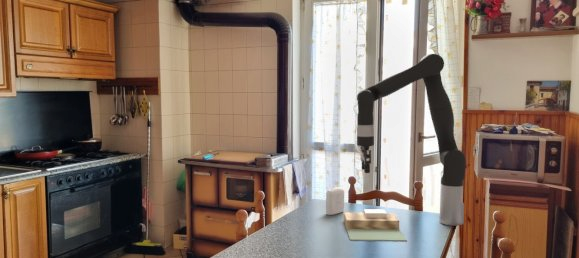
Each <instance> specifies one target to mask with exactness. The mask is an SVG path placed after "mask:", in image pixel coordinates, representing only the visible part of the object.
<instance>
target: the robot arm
mask: <svg viewBox="0 0 579 258" xmlns="http://www.w3.org/2000/svg"><path fill="white" fill-rule="evenodd" d="M444 66H445V60H444V58H443V57H442V56H441V55H440V54H437V53H428V54H426V55H424V56H423V57H421V59H420V60H419V62H417V63H416V64H414V65H412V66H410V67H409V68H407V69H405V70H402V71H400V72H398V73H396V74H394V75H391V76H388V77H386V78H385V79H383V80H381V81H379V82H377V83H376V84H374V85H371V86H368V87H367V88H365V89H362V90H360V91H359V92H358V93H357V96H356V100H357V117H356V118H357V120H356V121H357V125H356V145H357V146H358V147H359V148H360V161H361V169H362V170H361V171H363V170H364V174H370V172H371V164H372V150H371V149H370V147H374V146H375V125H374V105H375V102H376V101H378V100H380V99H382V98H385V97H388V96H390V95H392V94H394V93H396V92H398V91H399V90H402V89H403V88H405V87H407V86H408V85H411V84H413V83H415V82H417V81H419V80H423V83H424V86H425V90H426V98H427V103H428V109H429V113H430V116H431V117H430V118H431V120H432V121H431V122H432V125H433V128H434V132H435V136H436V139H437V144H438V145H437V147H438V155H439V160H440V163H441V164H442V165H443V166H442V167H443V168H442V169H443V170H442V176H441V178H440V192H439V193H440V197H439V223H440V224H442V225H446V226H463V225H464V221H465V220H464V217H465V214H464V213H465V203H464V202H463V198H464V197H463V195H464V181H465V178H466V169H467V168H466V165H467V158H466V155H465V153H464V152H463V151H461V150H460V149H458V145H457V141H456V139H455V138H456V137H455V134H454V133H455V132H454V131H455V129H454V128H455V116H454V111H453V106H452V102H451V100H450V98H449V95H448V93H447V91H446V89H445V87H444V84H443V82H442V76H441V75H442V74H441V72H442V71H443V69H444Z"/></svg>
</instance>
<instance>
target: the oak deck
mask: <svg viewBox="0 0 579 258" xmlns="http://www.w3.org/2000/svg"><path fill="white" fill-rule="evenodd" d="M386 213H387V218H366V217H365V215H364V211H363V212H362V211H361V212H356V211H354V212H349V211H348V212H347V211H346V212H345V211H344V212H343V223H344V225H345V229H346V230H347V229H396V230H400V219H399V218H398V217H397V215H396V214H395V213H394V212H386Z"/></svg>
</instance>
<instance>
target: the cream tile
mask: <svg viewBox="0 0 579 258" xmlns="http://www.w3.org/2000/svg"><path fill="white" fill-rule="evenodd" d="M363 212H364V215H365V217H366V218H387V213H388V212H387V211H386V209H377V208H376V209H375V208H373V209H371V208H370V209H369V208H368V209H366V208H364V209H363Z"/></svg>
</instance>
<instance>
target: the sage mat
mask: <svg viewBox="0 0 579 258" xmlns="http://www.w3.org/2000/svg"><path fill="white" fill-rule="evenodd" d="M346 231H347V234H348V238H349V240H350V241H356V242H357V241H358V242H359V241H360V242H361V241H365V242H367V241H368V242H369V241H372V242H373V241H374V242H375V241H376V242H407V241H408V240H407V238H406V237H405V236H404V234H403V232H402V231H401V230H400V229H399V230H396V229H346Z"/></svg>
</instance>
